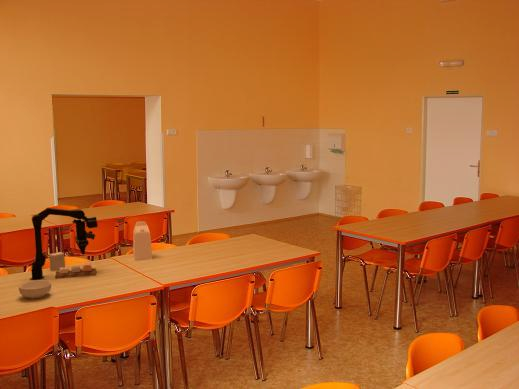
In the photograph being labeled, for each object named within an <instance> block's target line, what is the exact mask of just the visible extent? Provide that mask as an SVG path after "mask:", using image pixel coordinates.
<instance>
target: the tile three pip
mask: <svg viewBox="0 0 519 389" xmlns="http://www.w3.org/2000/svg"><path fill="white" fill-rule="evenodd" d="M92 268H93V267H92V264H88V265H85V264H84V265H82V269H83V272H84V271H92Z"/></svg>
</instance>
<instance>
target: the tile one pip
mask: <svg viewBox="0 0 519 389" xmlns="http://www.w3.org/2000/svg"><path fill="white" fill-rule="evenodd" d="M58 271H59V272H60V274H62V273H68V271H69V266H65V267H62V268H60V269H59V270H58Z"/></svg>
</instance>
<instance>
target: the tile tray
mask: <svg viewBox="0 0 519 389" xmlns="http://www.w3.org/2000/svg"><path fill="white" fill-rule="evenodd" d="M68 270H69V269H68ZM96 273H97V268H96V267H95V268H93V267H92V271H84V272H83V268H82V269H81V268H80V272H73V273H71V269H70V270H69V271H68V273H62V274H60V272H59V270H57V271H55V275H54V278H55V279H56V280H58V279H69V278H80V277H91V276H96V275H97V274H96Z"/></svg>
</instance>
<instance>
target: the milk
mask: <svg viewBox="0 0 519 389" xmlns="http://www.w3.org/2000/svg"><path fill="white" fill-rule="evenodd" d="M132 237H133V238H132V239H133V240H132V242H133V244H132V245H133V246H132V247H133V251H132V253H133V256H132V257H133V259H134V261H144V260H146V261H147V260H153V250H152V249H153V248H152V240H151V238H152V236H151V232H150V229H149V226H148V224H147V222H146V221H136V223H135V226H134V228H133V232H132Z"/></svg>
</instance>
